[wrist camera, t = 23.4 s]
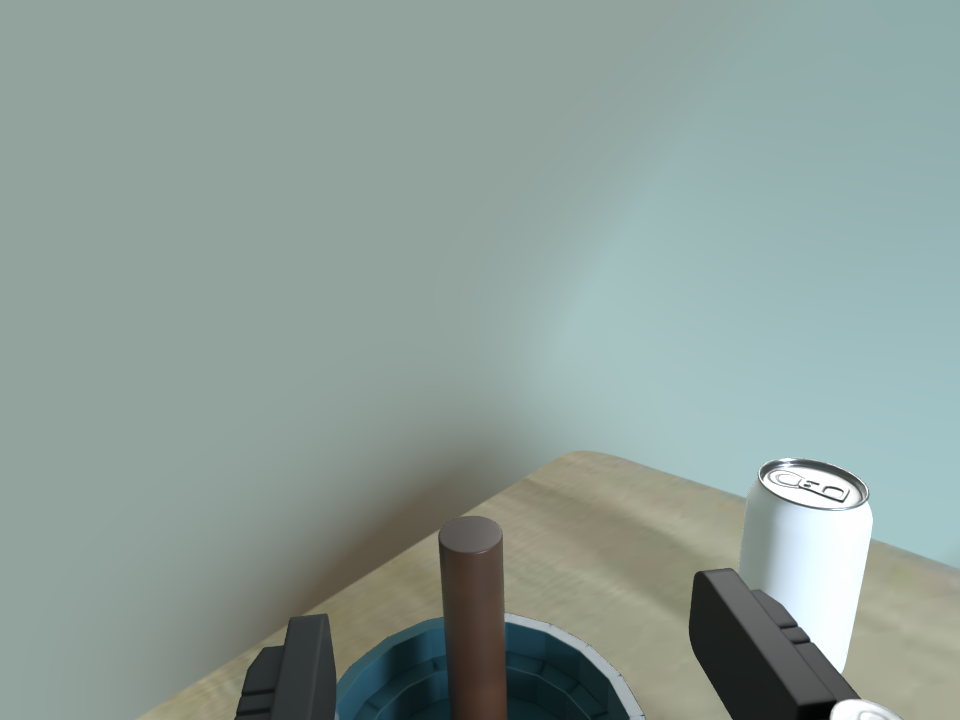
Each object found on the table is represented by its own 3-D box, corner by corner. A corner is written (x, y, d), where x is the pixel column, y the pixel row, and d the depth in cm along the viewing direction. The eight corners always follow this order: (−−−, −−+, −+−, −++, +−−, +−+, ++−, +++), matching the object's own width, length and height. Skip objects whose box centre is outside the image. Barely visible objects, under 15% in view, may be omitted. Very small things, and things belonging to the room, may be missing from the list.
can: (750, 599, 44) (771, 444, 40) (855, 643, 40) (890, 476, 36) (713, 655, 39) (732, 486, 35) (827, 711, 35) (863, 528, 31)
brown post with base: (409, 829, 29) (381, 557, 24) (455, 735, 34) (440, 490, 29) (515, 873, 27) (508, 588, 22) (549, 768, 32) (550, 511, 27)
